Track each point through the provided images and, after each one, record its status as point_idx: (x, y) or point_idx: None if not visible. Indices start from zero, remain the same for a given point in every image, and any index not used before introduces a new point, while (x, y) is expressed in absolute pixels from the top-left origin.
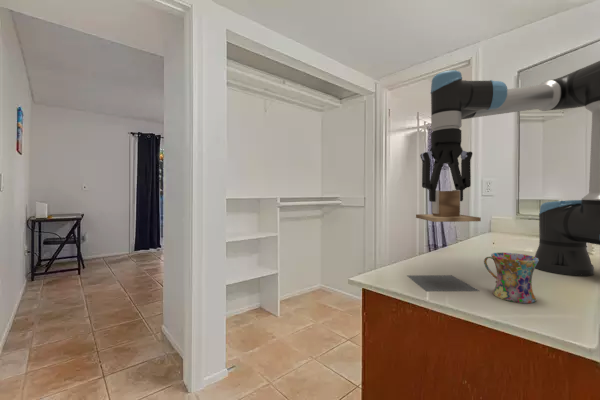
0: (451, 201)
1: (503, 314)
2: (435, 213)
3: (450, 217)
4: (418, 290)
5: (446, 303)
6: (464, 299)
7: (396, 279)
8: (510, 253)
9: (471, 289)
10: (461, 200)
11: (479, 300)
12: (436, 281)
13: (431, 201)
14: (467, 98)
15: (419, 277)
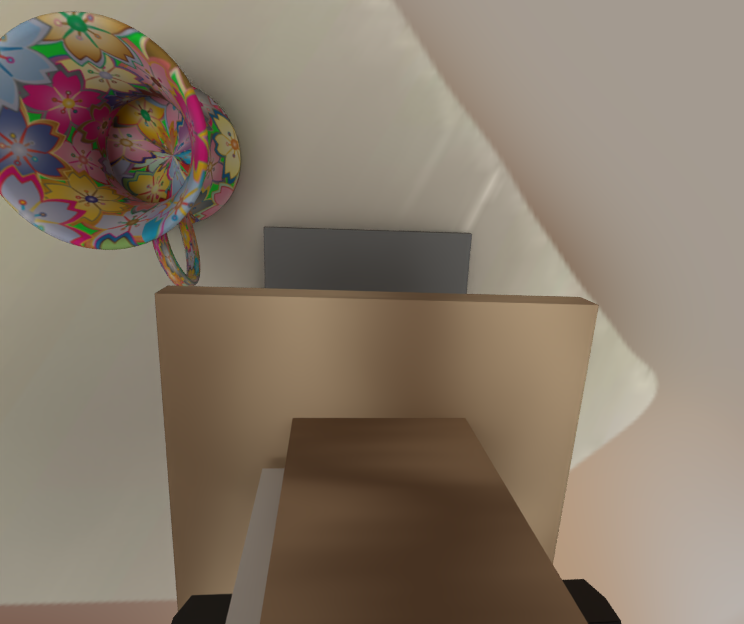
0: (387, 517)
1: (310, 14)
2: None
3: (430, 335)
4: (480, 266)
5: (450, 129)
6: (363, 165)
7: None
8: (56, 229)
9: (288, 245)
10: (200, 603)
11: (313, 152)
12: None
13: (583, 590)
14: None
15: None
